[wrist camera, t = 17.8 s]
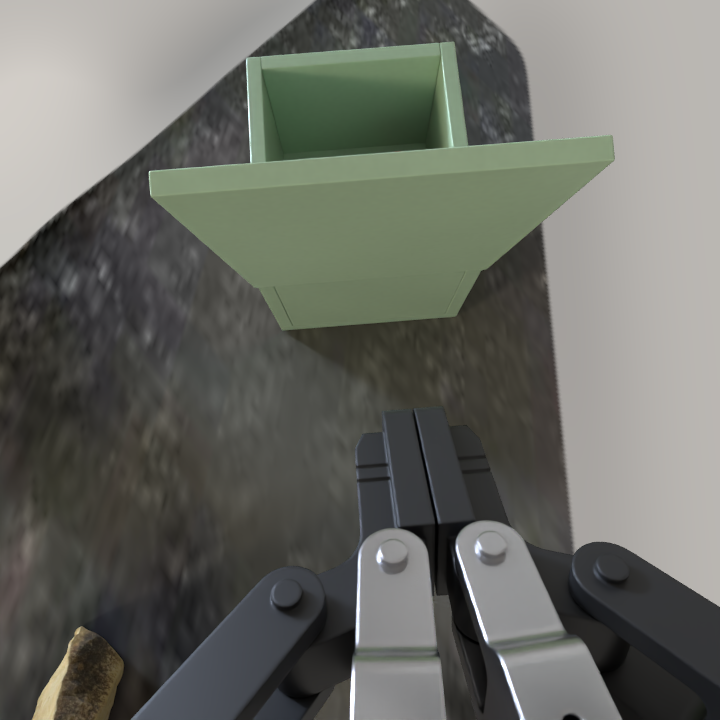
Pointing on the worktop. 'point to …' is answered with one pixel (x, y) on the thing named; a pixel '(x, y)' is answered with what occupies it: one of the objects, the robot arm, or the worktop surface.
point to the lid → (378, 208)
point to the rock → (82, 681)
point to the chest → (356, 137)
